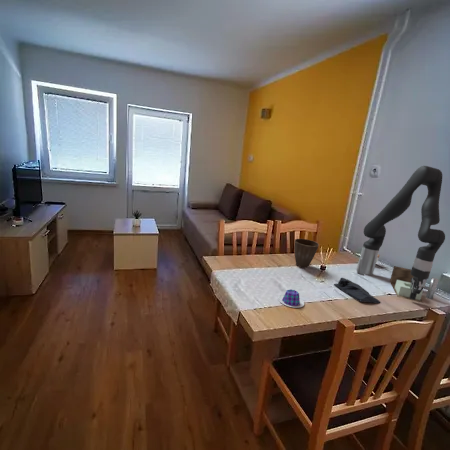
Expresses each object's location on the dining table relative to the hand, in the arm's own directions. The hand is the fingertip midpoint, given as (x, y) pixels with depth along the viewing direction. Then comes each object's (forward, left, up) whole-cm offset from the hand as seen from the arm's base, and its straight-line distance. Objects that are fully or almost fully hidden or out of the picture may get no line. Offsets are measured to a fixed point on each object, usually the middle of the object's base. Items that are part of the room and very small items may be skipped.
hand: (412, 299), depth 137 cm
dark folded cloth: (-26, -5, -3) cm, 27 cm away
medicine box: (+10, +31, -3) cm, 33 cm away
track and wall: (0, +13, -2) cm, 13 cm away
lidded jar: (-14, +56, -3) cm, 58 cm away
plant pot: (-57, +18, -3) cm, 60 cm away
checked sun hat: (-56, -35, -3) cm, 66 cm away
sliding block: (0, +10, -1) cm, 10 cm away
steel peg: (+11, +12, -2) cm, 17 cm away
